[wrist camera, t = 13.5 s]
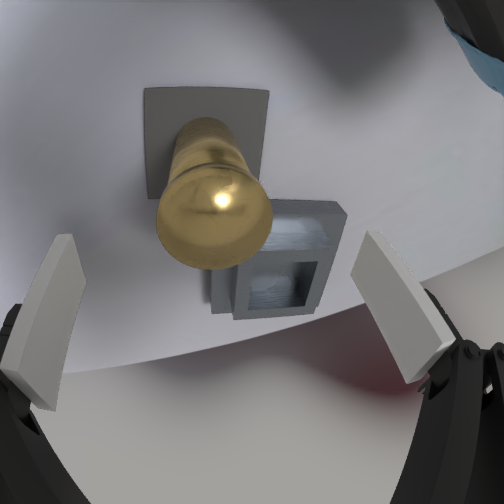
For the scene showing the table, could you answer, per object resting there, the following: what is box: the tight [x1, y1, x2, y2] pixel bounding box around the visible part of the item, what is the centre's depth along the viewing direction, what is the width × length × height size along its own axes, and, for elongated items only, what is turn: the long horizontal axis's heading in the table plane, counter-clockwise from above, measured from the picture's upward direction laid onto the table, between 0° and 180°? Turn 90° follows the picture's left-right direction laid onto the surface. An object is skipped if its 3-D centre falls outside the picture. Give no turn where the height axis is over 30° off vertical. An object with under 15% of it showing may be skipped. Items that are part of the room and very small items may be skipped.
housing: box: [210, 200, 347, 320], centre depth 34 cm, size 14×14×6 cm
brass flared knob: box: [156, 117, 273, 270], centre depth 21 cm, size 6×6×14 cm
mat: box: [145, 87, 269, 199], centre depth 26 cm, size 11×11×1 cm
